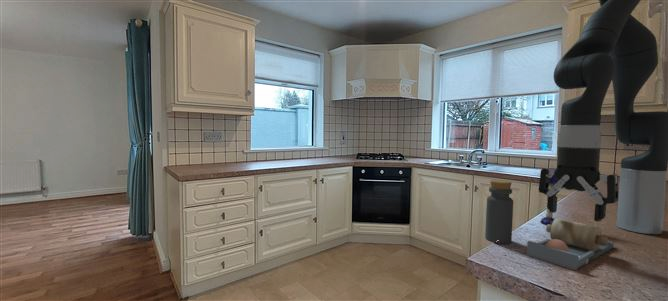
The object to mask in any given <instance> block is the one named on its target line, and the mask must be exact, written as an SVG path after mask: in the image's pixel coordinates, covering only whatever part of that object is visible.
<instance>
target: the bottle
mask: <svg viewBox="0 0 668 301" xmlns="http://www.w3.org/2000/svg"><path fill="white" fill-rule="evenodd" d="M489 182H490V187H488V192H490V195H488V196H487V198H486V210H485V211H486V212H485V231H484V232H485V240H486V241H488V242H491V243H494V242H495V243H494V244H497V243H498V244H499V245H508V244H509V245H510V244H511V243H512V238H513V237H512V236H513V221H514V220H513V219H514V200H513V198H511V196H510V195H511V194H513V189H512V188H511V186H512V181H509V180H502V179H491V180H490V181H489ZM497 240H499V241H497ZM496 241H497V242H496Z"/></svg>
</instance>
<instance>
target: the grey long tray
mask: <svg viewBox="0 0 668 301" xmlns="http://www.w3.org/2000/svg"><path fill="white" fill-rule="evenodd" d="M549 240H551V238H550V239H549V238H545V239H542V240H540V241H539V242H534V241H531V240H528V241H527V244H526V245H527V246H526V256H528V257H532V258H534V259H537V260H538V259H539V260H541V261H545V262H547V263H551V264H553V265H554V264H555V265H556V266H560V267H563V268H567V269H570V270H573V271H578V270H579V269H581V268H582V267H584V266H586V265H587V264H589V263H590V262H592V261H593V260H595V259H597V258H598V257H600V256H601V255H603V254H605V253H606V252H608V251H610V250H611V249H612V248H614V244H615V243H614V242H610V241H608V243H607V246H602V245H600V247H599V249H598V250H597V251H595V252H594V251H592V250H590V251H589V250H585V249H581V248H577V247H574V246H570V245H567V247H568V252H567V251H564V250H560V249H557V248H553V247H549V246H546V243H547V242H548V241H549Z"/></svg>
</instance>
